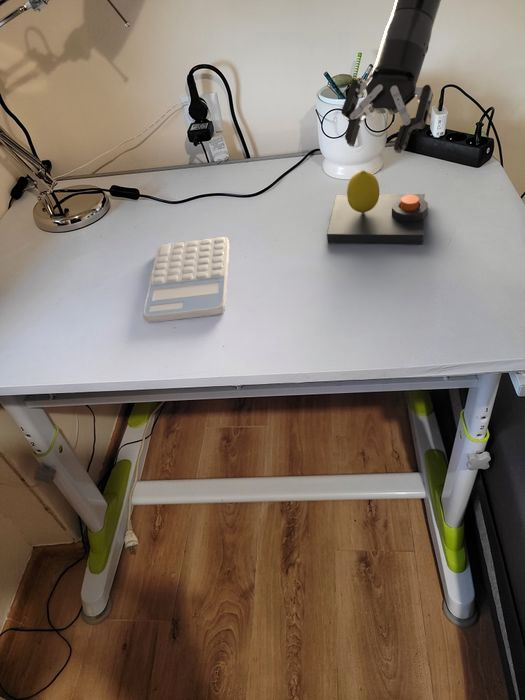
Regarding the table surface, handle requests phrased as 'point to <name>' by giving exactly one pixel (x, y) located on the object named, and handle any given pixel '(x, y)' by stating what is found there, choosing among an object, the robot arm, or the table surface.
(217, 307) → the calculator
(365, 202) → the lemon
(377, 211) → the scale
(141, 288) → the table surface
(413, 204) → the button
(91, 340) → the table surface
